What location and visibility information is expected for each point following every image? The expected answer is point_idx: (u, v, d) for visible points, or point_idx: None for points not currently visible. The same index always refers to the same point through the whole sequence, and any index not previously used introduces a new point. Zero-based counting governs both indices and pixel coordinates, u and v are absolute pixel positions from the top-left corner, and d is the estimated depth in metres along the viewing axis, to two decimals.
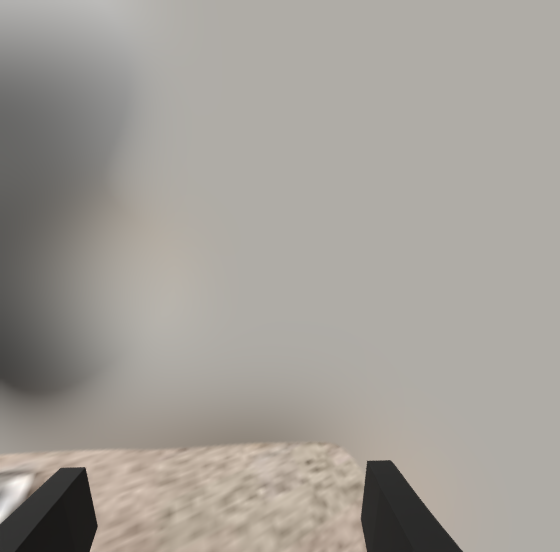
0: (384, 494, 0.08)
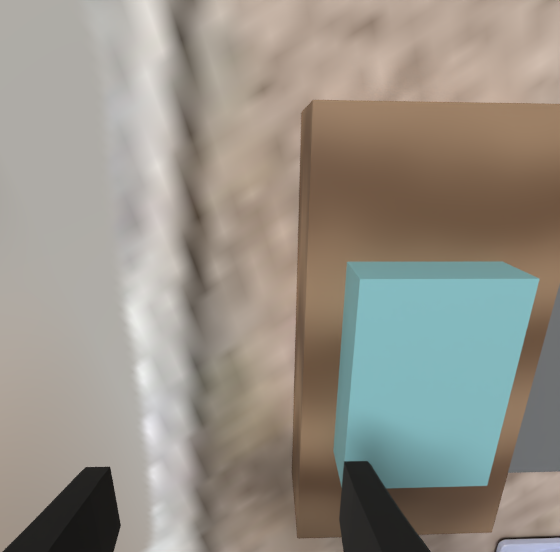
0: (357, 495, 0.08)
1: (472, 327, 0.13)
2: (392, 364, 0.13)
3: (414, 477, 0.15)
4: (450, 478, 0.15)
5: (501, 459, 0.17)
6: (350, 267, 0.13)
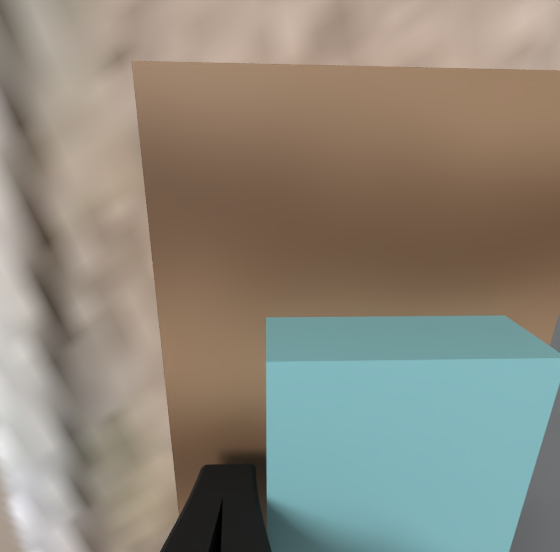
0: (223, 498, 0.08)
1: (456, 432, 0.08)
2: (330, 485, 0.08)
3: None
4: None
5: None
6: (266, 329, 0.08)
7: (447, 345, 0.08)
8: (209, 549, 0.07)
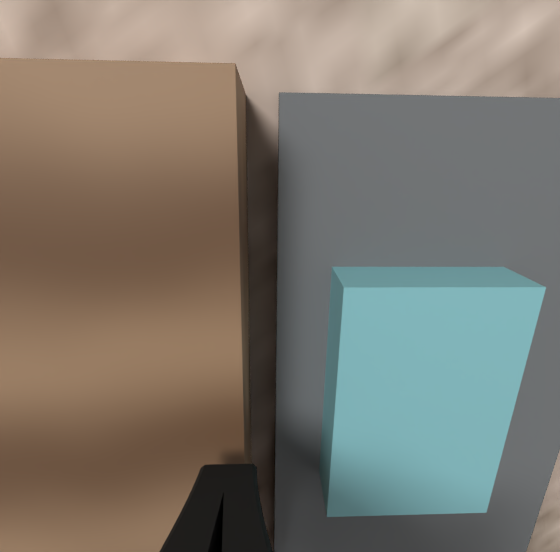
0: (223, 498, 0.08)
1: None
2: None
3: None
4: None
5: None
6: (531, 281, 0.11)
7: (400, 272, 0.12)
8: (208, 549, 0.07)
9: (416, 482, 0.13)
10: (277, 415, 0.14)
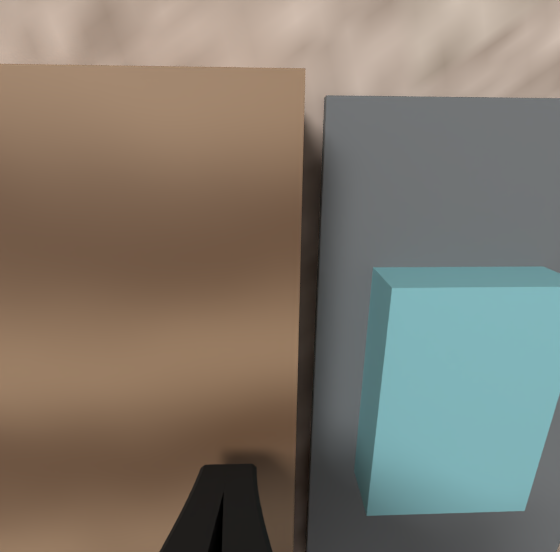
0: (223, 498, 0.08)
1: None
2: None
3: None
4: None
5: None
6: None
7: (442, 272, 0.12)
8: (208, 549, 0.07)
9: (456, 480, 0.13)
10: (314, 415, 0.14)
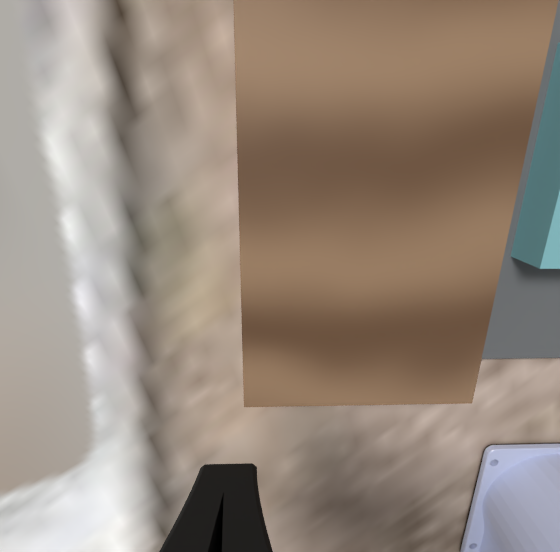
0: (224, 498, 0.08)
1: None
2: None
3: None
4: None
5: (481, 303, 0.15)
6: None
7: None
8: (208, 549, 0.07)
9: None
10: None
